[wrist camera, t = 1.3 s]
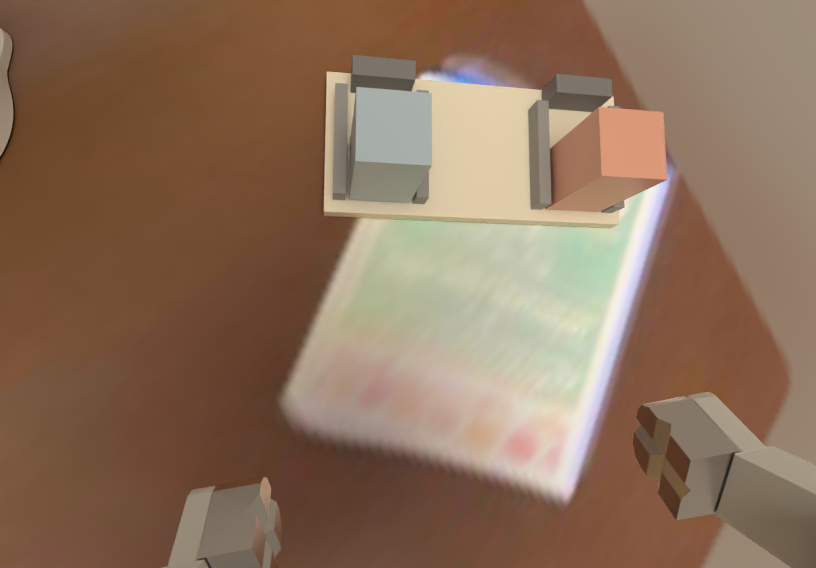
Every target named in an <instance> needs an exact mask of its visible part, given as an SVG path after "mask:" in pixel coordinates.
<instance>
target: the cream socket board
mask: <svg viewBox="0 0 816 568" xmlns="http://www.w3.org/2000/svg"><path fill="white" fill-rule="evenodd" d="M356 87H365V88H377V89H389V90H401V91H413V92H425V93H432V166H431V168H430V170H429V171H428V173H427V175H426V176H425V178H424V180H423V181H422V183H421V184H420V186H419V188H418V189H417V191H416V193H415V194H414V196H413V198H412V199H411V201H410V203H409V202H388V201H367V200H349V165H350V136H351V128H352V120H353V112H354V103H355V95H356ZM598 107H606V108H618V109H620V107H618V106H614V97H613V96H612V80H611V79H606V78H596V77H585V76H574V75H563V74H556V75H555V76H554V77H553V78H552V80H551V81H550V82H549V83H548V84H547V85H546V86H545V88H544V89H543V90H534V89H523V88H511V87H500V86H488V85H477V84H465V83H454V82H442V81H431V80H419V79H415V61H412V60H401V59H391V58H380V57H369V56H358V55H353V58H352V68H351V74H350V73H339V72H327V90H326V134H325V177H324V216H336V217H359V218H383V219H407V220H430V221H454V222H478V223H501V224H525V225H548V226H572V227H596V228H611V227H614V226H616V225H619V209H622V208H624V200H623V201H621V202H619V203H617V204H615V205H613V206H610V207H608V208H606V209H604V210H602V211H600V212H597V211H576V210H556V209H546V207H547V206H549V205H550V204H552V203H551V169H550V148H552V147H553V146H554V145H555V144H556V143H557V142H559V141H560V140H561V139H562V138H563V137H564V136H566V135H567V134H568V133H569V132H570V131H571V130H572V129H574V128H575V127H576V126H577V125H578V124H579V123H581V122H582V121H583V120H584V119H585V118H586V117H588V116H589V115H590V114H591V113H592V112H593V111H595V110H596V109H597V108H598Z"/></svg>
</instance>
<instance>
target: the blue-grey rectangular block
mask: <svg viewBox="0 0 816 568" xmlns="http://www.w3.org/2000/svg"><path fill="white" fill-rule="evenodd" d="M431 166H432V93H425V92H413V91H401V90H389V89H377V88H365V87H356V95H355V103H354V112H353V120H352V128H351V136H350V165H349V200H367V201H388V202H409V203H410V201H411V199H412V198H413V196H414V194H415V193H416V191H417V189H418V188H419V186H420V184H421V183H422V181H423V180H424V178H425V176H426V175H427V173H428V171H429V170H430V168H431Z"/></svg>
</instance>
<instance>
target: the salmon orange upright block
mask: <svg viewBox="0 0 816 568" xmlns="http://www.w3.org/2000/svg"><path fill="white" fill-rule="evenodd" d="M550 169H551V203H552V204H550V205H549V206H547V207H546V209H556V210H576V211H597V212H600V211H602V210H604V209H606V208H608V207H610V206H613V205H615V204H617V203H619V202H621V201H623V200H625V199H627V198H629V197H632V196H634V195H636V194H638V193H640V192H642V191H644V190H646V189H648V188H651V187H653V186H655V185H657V184H659V183H661V182H663V181H665V180H667V170H666V152H665V135H664V117H663V112H654V111H642V110H630V109H618V108H606V107H598V108H597V109H596V110H595V111H593V112H592V113H591V114H590V115H589V116H588V117H586V118H585V119H584V120H583V121H582V122H581V123H579V124H578V125H577V126H576V127H575V128H574V129H572V130H571V131H570V132H569V133H568V134H567V135H566V136H564V137H563V138H562V139H561V140H560V141H559V142H557V143H556V144H555V145H554V146H553V147H552V148H550Z"/></svg>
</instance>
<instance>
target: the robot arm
mask: <svg viewBox="0 0 816 568" xmlns="http://www.w3.org/2000/svg"><path fill="white" fill-rule="evenodd" d="M11 53H12V39H11V37H10V35H9V34H8V33H7V32H6V31H4V30H3V29H2V28H0V156H1V154H2V152H3V151H4V149H5V147H6V144H7V142H8V139H9V137H10V133H11V129H12V124H13V101H12V96H11V92H10V87H9V83H8V78H7V70H8V66H9V62H10V58H11ZM637 419H638V421H639V422H640V423H641V426H640V427H639V428H638V429H637V430H636V431H635V432H634V439H633V446H634V450H635V455H636V458H637V460H638V462H639V464H640V466H641V468H642V469H643V471H644V473H645V474H646V476H648V477H650V478H652V479H653V480H655V481H657V482H659V488H658V494H659V495H660V497H661V498H662V500H663V501H664V503H665V504H666V506H667V507H668V509H669V510H670V512H671V513H672V514H673V516H674V517H675V519H676V520H680V519H686V518H691V517H697V516H703V515H709V514H714V513H716V516H717V517H719V518H720V519H722V520H723V521H725V522H726V523H727V524H729V525H730V526H732V527H733V528H735V529H736V530H738V531H739V532H740V533H742V534H743V535H745V536H746V537H748V538H749V539H751V540H752V541H754V542H755V543H756V544H758V545H759V546H761V547H762V548H764V549H765V550H767V551H768V552H769V553H771V554H772V555H774V556H775V557H777V558H778V559H780V560H781V561H782V562H784V563H785V564H787V565H789V566H790V567H791V568H816V465H814V464H812V463H809V462H807V461H805V460H803V459H801V458H798V457H796V456H794V455H792V454H789V453H787V452H785V451H783V450H780V449H778V448H776V447H774V446H770V447H765V446H764V445H763V444H762V443H761V442H760V440H759V439H758V438H757V437H756V436H755V435H754V434H753V433H752V432H751V431H750V430H749V429H748V428H747V427H746V426H745V425H744V424H743V423H742V422H741V421H740V420H739V419H738V418H737V417H736V416H735V415H734V414H733V413H732V412H731V411H730V410H729V409H728V408H727V407H726V406H725V405H724V404H723V403H722V402H721V401H720V400H719V399H718V398H717V397H716V396H715V395H714V394H712V393H710V392H705V393H699V394H694V395H689V396H685V397H677V398H673V399H668V400H663V401H658V402H653V403H648V404H643V405H641V406H640V407H639V409H638V412H637ZM270 495H271V486H270V484H269V482H268V479H267V478H258V479H252V480H246V481H240V482H234V483H227V484H221V485H216V486H211V487H205V488H199V489H194V490H192V491H191V492H190V494H189V495H188V497H187V499H186V502H185V506H184V509H183V513H182V516H181V520H180V523H179V527H178V531H177V534H176V538H175V541H174V545H173V548H172V552H171V555H170V559H169V563H168V566H166V567H162V568H279V566H278V564H277V562H276V559H275V557H276V555H277V554H278V552H279V551H280V550H281V547H282V521H281V515H280V511H279V507H278V505H277V502H276V501H274V500H272V499H270Z"/></svg>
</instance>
